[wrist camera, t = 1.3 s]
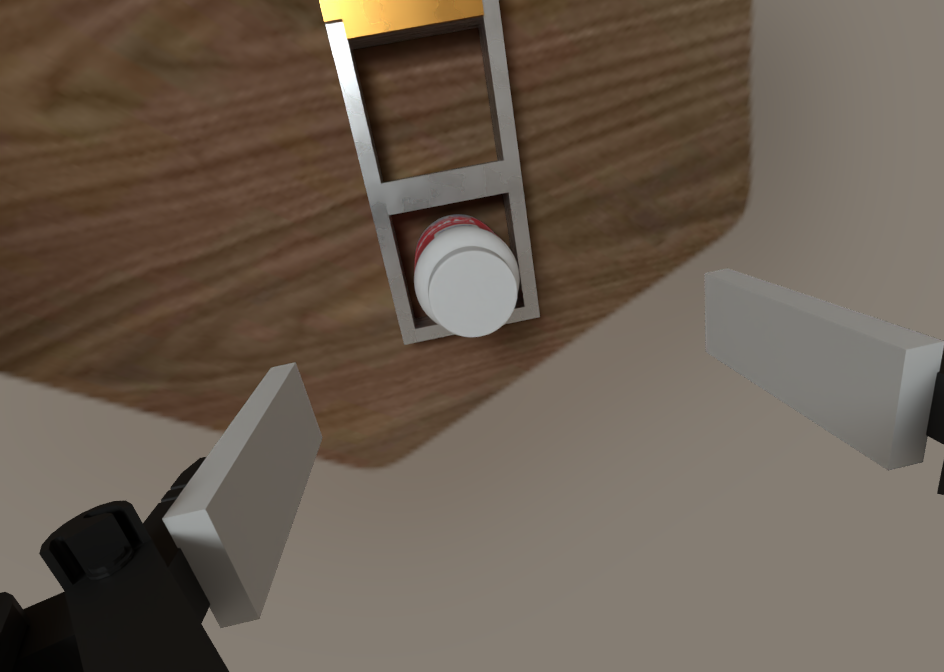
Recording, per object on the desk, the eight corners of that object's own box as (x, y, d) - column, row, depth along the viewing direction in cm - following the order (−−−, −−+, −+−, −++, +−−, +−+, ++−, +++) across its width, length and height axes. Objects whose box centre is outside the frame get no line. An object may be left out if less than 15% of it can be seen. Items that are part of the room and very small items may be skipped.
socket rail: (405, 333, 36) (404, 346, 34) (281, -178, 26) (266, -217, 23) (532, 307, 37) (540, 318, 34) (462, -206, 26) (467, -247, 23)
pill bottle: (468, 195, 33) (491, 209, 23) (514, 265, 35) (554, 307, 25) (397, 246, 34) (388, 282, 24) (446, 312, 36) (458, 372, 26)
